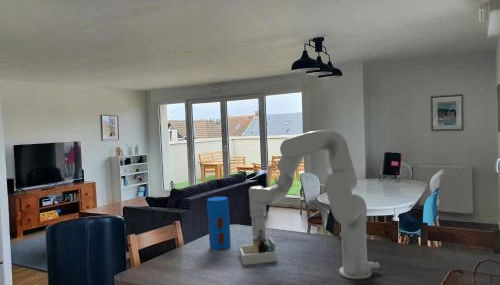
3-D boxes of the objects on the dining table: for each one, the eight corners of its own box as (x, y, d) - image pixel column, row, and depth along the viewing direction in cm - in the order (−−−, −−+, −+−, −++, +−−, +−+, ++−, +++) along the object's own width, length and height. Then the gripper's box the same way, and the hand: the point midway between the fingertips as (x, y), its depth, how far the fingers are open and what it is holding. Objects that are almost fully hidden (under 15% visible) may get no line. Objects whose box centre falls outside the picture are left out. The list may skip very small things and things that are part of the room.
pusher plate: (267, 250, 185) (266, 239, 185) (271, 258, 174) (271, 245, 174) (264, 250, 185) (263, 239, 185) (269, 258, 174) (268, 246, 174)
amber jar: (265, 253, 182) (264, 236, 182) (268, 257, 176) (267, 240, 176) (252, 254, 182) (251, 237, 181) (254, 258, 175) (253, 241, 175)
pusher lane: (270, 251, 187) (269, 235, 186) (276, 261, 173) (275, 244, 173) (239, 254, 185) (238, 238, 184) (243, 265, 171) (242, 247, 170)
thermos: (211, 251, 192) (208, 201, 190) (208, 245, 202) (205, 198, 201) (233, 248, 194) (230, 199, 193) (228, 242, 205) (225, 195, 204)
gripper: (247, 209, 186) (249, 245, 187) (253, 218, 169) (255, 256, 170) (262, 208, 187) (264, 243, 188) (269, 216, 170) (272, 254, 171)
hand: (260, 249), depth 179 cm, fingers open, 9 cm apart
